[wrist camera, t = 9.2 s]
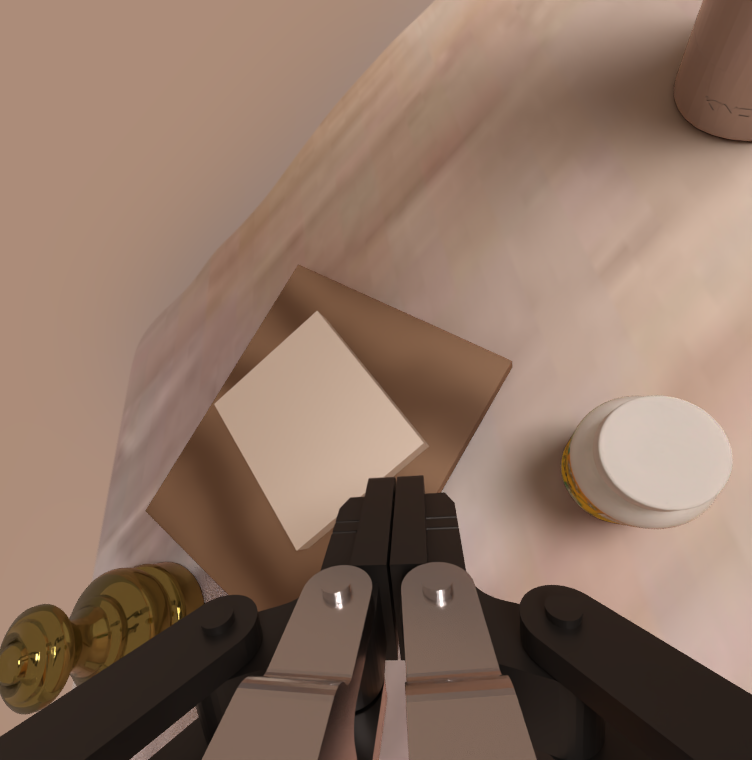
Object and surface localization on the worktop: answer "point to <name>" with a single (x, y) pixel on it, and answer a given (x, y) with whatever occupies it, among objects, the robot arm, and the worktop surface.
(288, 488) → the tile
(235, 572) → the board
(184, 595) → the brass knob
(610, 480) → the supplement bottle
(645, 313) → the worktop surface
